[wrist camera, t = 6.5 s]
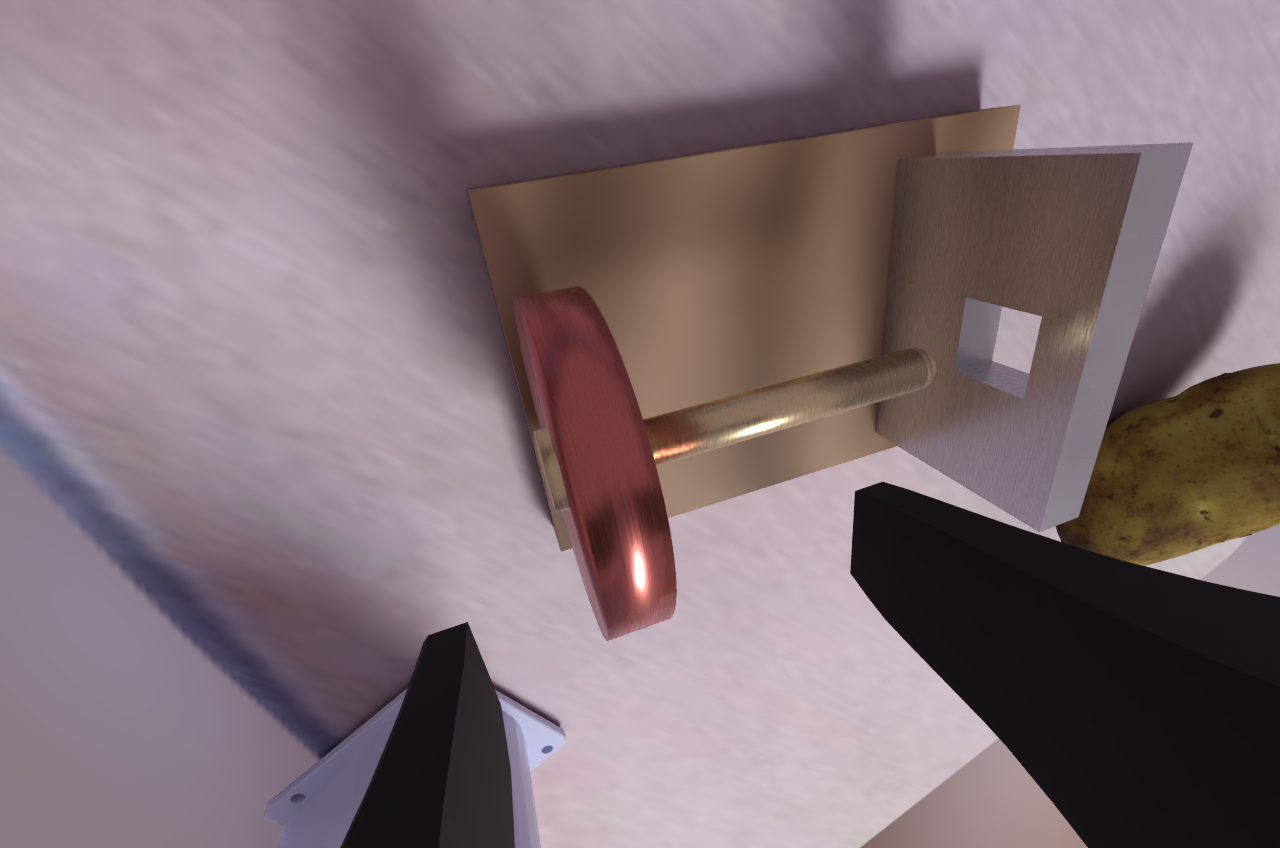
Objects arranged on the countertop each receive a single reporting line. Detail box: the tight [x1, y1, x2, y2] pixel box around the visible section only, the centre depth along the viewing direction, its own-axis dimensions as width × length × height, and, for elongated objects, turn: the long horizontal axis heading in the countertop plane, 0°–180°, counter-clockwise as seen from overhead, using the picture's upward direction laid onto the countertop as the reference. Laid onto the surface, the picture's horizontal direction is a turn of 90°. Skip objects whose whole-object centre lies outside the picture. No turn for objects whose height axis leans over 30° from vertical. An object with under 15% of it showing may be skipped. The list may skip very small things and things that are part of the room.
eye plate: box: [875, 143, 1193, 532], centre depth 17 cm, size 2×10×7 cm, turn 7°
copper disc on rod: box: [513, 286, 936, 641], centre depth 14 cm, size 11×8×8 cm
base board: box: [467, 105, 1020, 551], centre depth 19 cm, size 18×12×2 cm, turn 97°
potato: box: [1056, 363, 1280, 566], centre depth 27 cm, size 8×13×8 cm, turn 117°
